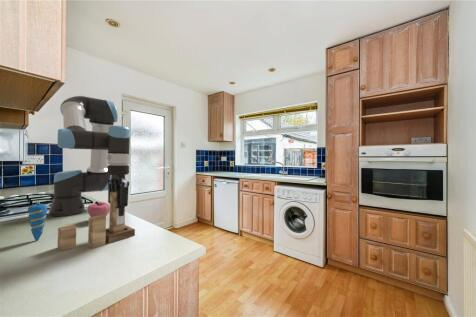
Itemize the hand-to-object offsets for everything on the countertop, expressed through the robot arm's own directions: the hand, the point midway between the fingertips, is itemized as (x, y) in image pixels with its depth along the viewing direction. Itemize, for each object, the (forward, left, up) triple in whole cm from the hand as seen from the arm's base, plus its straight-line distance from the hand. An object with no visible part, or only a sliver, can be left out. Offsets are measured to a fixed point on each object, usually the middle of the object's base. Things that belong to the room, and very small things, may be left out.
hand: (117, 222), depth 80 cm
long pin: (0, 0, -4) cm, 4 cm away
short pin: (-3, -15, -6) cm, 16 cm away
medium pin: (+3, -8, -6) cm, 10 cm away
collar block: (0, 0, -5) cm, 5 cm away
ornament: (-18, -20, -6) cm, 28 cm away
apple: (-27, +3, -6) cm, 28 cm away
